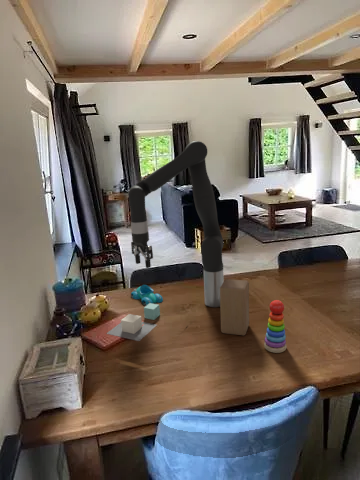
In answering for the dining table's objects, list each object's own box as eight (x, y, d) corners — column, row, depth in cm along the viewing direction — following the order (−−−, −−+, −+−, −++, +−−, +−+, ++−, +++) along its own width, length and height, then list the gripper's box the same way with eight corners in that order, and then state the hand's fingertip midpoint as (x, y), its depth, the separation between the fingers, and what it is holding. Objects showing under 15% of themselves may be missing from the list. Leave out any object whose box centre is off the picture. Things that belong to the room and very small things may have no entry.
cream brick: (142, 327, 153) (141, 316, 152) (134, 333, 148) (133, 322, 147) (130, 324, 156) (129, 313, 155) (122, 331, 151) (120, 320, 149)
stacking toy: (282, 356, 129) (283, 307, 124) (261, 350, 133) (261, 303, 128) (289, 345, 135) (290, 298, 131) (268, 340, 140) (268, 295, 135)
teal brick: (160, 317, 163) (159, 304, 162) (154, 322, 159) (153, 309, 158) (150, 315, 166) (149, 303, 164) (144, 320, 161) (143, 307, 160)
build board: (157, 326, 155) (157, 324, 154) (139, 343, 143) (139, 341, 142) (126, 320, 162) (126, 318, 161) (106, 335, 150) (106, 333, 150)
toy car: (147, 290, 194) (146, 279, 192) (165, 301, 180) (164, 288, 178) (129, 296, 188) (127, 284, 187) (146, 307, 174) (145, 294, 172)
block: (249, 324, 152) (249, 279, 147) (245, 336, 143) (245, 289, 138) (225, 322, 155) (224, 278, 150) (220, 333, 146) (219, 287, 141)
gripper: (155, 231, 160) (158, 266, 164) (138, 227, 171) (141, 260, 175) (141, 235, 155) (144, 271, 159) (124, 230, 166) (128, 264, 170)
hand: (143, 265), depth 167 cm, fingers open, 8 cm apart
